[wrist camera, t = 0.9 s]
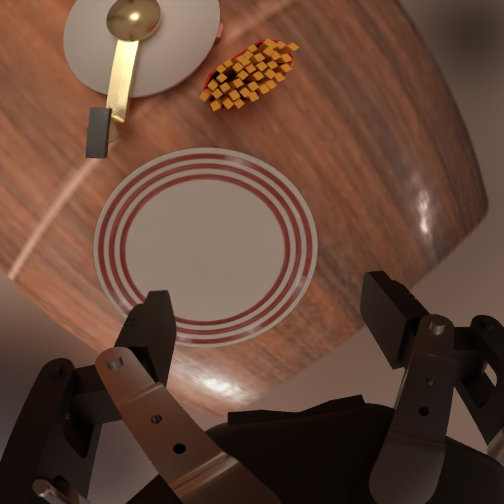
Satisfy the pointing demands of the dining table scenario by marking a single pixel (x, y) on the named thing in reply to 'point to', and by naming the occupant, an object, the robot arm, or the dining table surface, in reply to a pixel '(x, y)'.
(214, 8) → the crank housing
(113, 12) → the crank
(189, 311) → the dinner plate
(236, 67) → the french fries
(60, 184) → the dining table surface
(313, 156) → the dining table surface
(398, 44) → the dining table surface
